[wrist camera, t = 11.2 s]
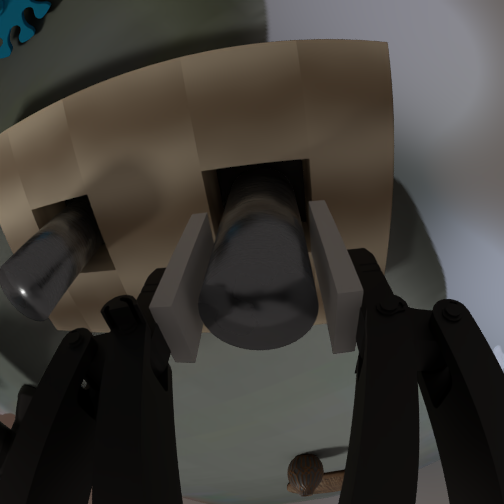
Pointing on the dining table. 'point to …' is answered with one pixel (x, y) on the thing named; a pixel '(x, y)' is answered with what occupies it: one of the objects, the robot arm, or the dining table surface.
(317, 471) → the vase
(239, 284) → the steel peg
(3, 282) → the seated peg
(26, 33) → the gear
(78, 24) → the dining table surface
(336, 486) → the trivet
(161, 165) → the jig
